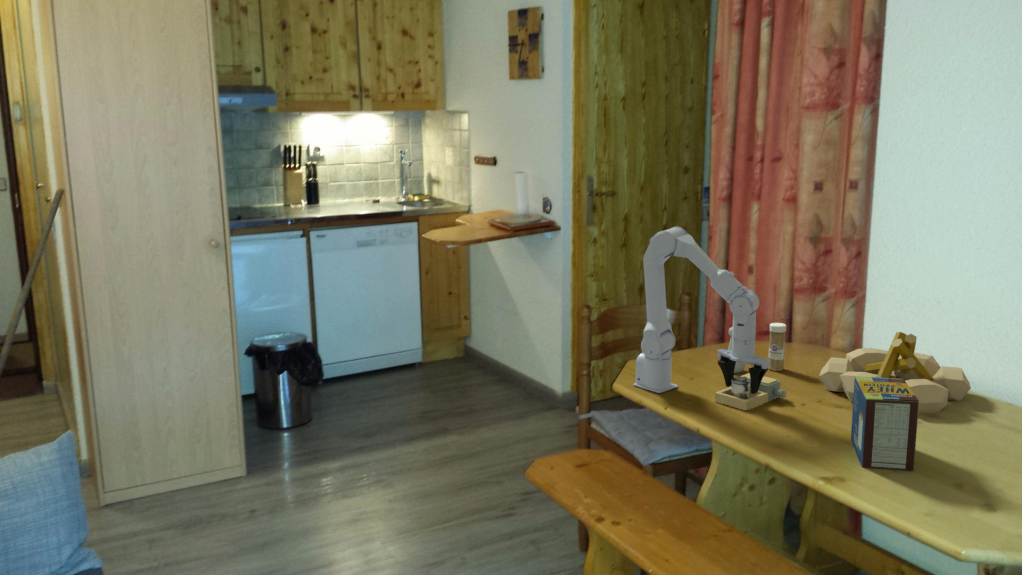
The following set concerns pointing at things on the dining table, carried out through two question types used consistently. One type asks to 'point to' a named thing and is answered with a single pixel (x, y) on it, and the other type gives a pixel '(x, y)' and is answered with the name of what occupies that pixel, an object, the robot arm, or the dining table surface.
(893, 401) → the protein box
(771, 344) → the sprinkles bottle
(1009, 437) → the dining table surface
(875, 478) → the dining table surface
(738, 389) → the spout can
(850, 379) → the campfire
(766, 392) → the drawer
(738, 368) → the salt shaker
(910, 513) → the dining table surface
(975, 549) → the dining table surface
